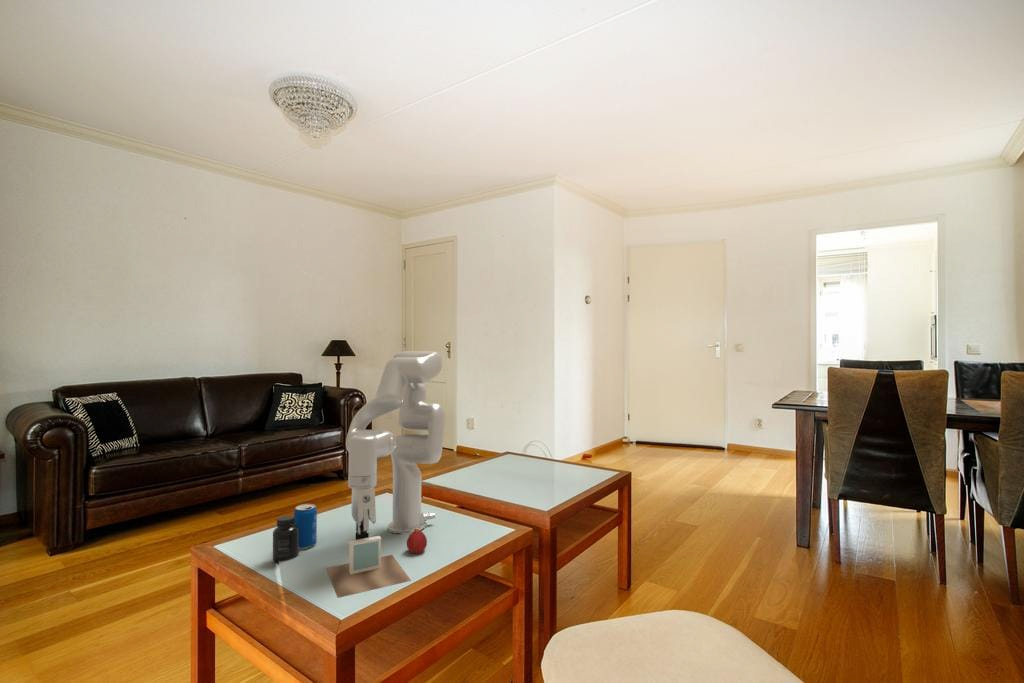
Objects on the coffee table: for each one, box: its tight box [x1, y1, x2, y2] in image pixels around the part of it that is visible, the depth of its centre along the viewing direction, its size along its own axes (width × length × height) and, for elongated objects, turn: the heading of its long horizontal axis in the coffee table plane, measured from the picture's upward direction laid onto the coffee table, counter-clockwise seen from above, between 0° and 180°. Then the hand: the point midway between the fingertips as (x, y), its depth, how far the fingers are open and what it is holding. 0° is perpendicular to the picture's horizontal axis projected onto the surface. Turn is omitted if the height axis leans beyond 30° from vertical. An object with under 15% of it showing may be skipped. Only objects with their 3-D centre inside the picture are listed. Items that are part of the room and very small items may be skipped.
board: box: [325, 554, 412, 599], centre depth 128 cm, size 18×18×1 cm
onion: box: [406, 528, 428, 554], centre depth 143 cm, size 6×6×8 cm
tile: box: [348, 535, 382, 574], centre depth 131 cm, size 8×2×8 cm, turn 119°
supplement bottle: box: [272, 515, 300, 565], centre depth 140 cm, size 7×7×12 cm
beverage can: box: [293, 503, 318, 550], centre depth 150 cm, size 6×6×12 cm
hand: (362, 546), depth 134 cm, fingers closed
